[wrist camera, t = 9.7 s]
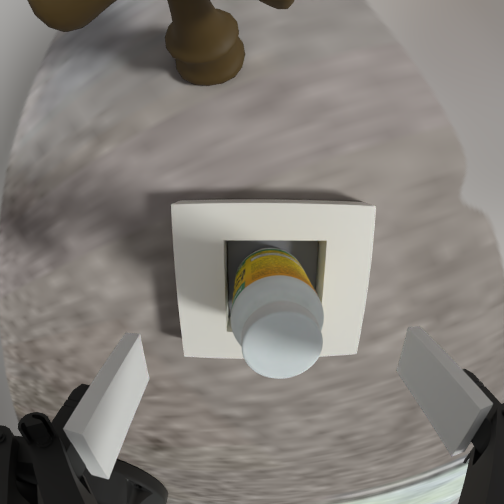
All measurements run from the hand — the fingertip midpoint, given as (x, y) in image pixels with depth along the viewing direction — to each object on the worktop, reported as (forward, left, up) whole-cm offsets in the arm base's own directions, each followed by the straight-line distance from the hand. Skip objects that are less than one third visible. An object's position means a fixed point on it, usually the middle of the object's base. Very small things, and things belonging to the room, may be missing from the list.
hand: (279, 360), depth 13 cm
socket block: (0, 0, -11) cm, 11 cm away
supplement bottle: (0, 0, -11) cm, 11 cm away
